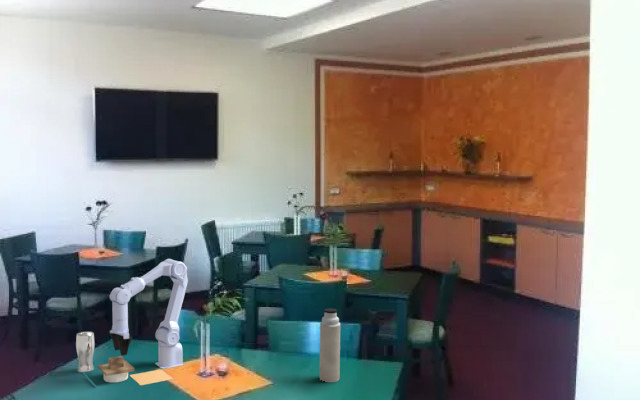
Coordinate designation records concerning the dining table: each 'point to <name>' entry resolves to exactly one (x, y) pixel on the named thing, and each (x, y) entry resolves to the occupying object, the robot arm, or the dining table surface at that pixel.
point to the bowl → (116, 377)
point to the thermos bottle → (330, 346)
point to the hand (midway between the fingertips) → (120, 352)
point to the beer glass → (85, 351)
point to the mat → (151, 377)
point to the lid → (116, 366)
